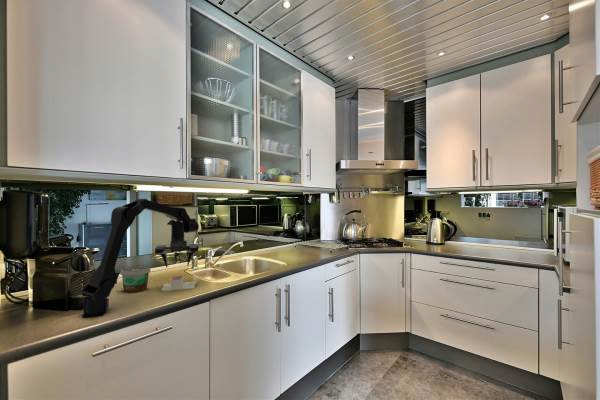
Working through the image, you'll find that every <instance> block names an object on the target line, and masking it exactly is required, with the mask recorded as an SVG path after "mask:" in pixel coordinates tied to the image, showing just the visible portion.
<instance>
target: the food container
mask: <svg viewBox="0 0 600 400" xmlns="http://www.w3.org/2000/svg"><path fill="white" fill-rule="evenodd" d="M150 272H151V268H150V267H146V268H144V269H141V268H133V269H125V270H124V269H123V268H121V270H120V272H119V275H120V276H121V278H122V280H121V281H122V289H123V292H124V293H128V294H131V293H132V294H134V293H140V292H144V291H145V290H147V289H148V281H149V275H150Z"/></svg>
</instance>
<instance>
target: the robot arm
mask: <svg viewBox="0 0 600 400" xmlns="http://www.w3.org/2000/svg"><path fill="white" fill-rule="evenodd" d="M144 210H147V211H151V212H153V213H158V214H161V215H162V214H163V215H164V216H165V217H166V218H167V217H168V218H169V219H170V220H169V221H168V222H167V226H170V227H171V231H170V232H171V233H170V234H171V236H170V244H169V245H170V246H167V245H165V244H164V245H163V244H162V245H161V244H160V245H157V246H156V247H155V248H154V254H157V255H158V256H160V257H161V258H162V260H163V263H164V265H165V267H166V268H168V265H169V264H168V254H167V252H171V253H175V252H178V253H181V252H183V251H189V252H188V256H187V265H186V266H187V267H189V265H190V262H191V259H192V257H193V255H194V254H196V252H199V250H200V249H199V244H198V243H191V244H189V245H188V240H185V234H187V233H188V234H189V233H196V232H198V231H199V228H200V225H199V223H198V221H197V219H196V218H191V217H190V215H189V214H188V211H187V209H186V208H184V207H178V206H177V207H176V206H169V205H166V204H162V203H159V202H155V201H154V200H149V199H147V198H137V199H135V200H134V201H132V202H129V203H126V204H123V205H122V206H117V207H115V208H113V209H112V211H111V214H110V215H111V216H110V225H111V230H110V233H109V236H108V240H107V242H106V246H105V249H104V252H103V255H102V258H101V261H100V263H99V266H98V267H97V268H96V269H95V270H94V272H92V275H91V277H90V278H89V280H88V283H87V284H86V285H85V286H84V287H83V288H82V289H81V290H80V294H81V296H82V297H84V298H83V314H82V315H81V318H90V317H92V318H93V317H101V316H104V315H105V314H106V312H108V310H109V307H110V306H109V305H110V304H109V303H110V300H109V299H110V298H109V297H110V296H111V292H112V290H113V289H114V288H115V285H117V284H118V278H119V277H120V272H118V271H116V264H117V261H118V257H119V255H120V252H121V248H122V246H123V242H124V240H125V239H124V238H125V237H126V236H125V235H126V232H127V231H128V229H129V228H130V227H131V225H133V223H134V221H135V219H136V217H137V216H139V215H141V213H143V211H144Z"/></svg>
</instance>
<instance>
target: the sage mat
mask: <svg viewBox="0 0 600 400" xmlns="http://www.w3.org/2000/svg"><path fill="white" fill-rule="evenodd" d="M170 286H171V282H170V283H164V284H163V286H162V289H161V292H170V291H171V292H172V291H184V290H192V289H193V290H194V289H195V287H196V281H185V282H184V281H183V286H182V288H178V289H170Z"/></svg>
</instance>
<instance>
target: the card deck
mask: <svg viewBox="0 0 600 400" xmlns="http://www.w3.org/2000/svg"><path fill="white" fill-rule="evenodd" d="M183 282H184V275H176V276H175V275H174V276H171V279H170V283H171V286H170V289H178V288H182V286H183Z"/></svg>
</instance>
